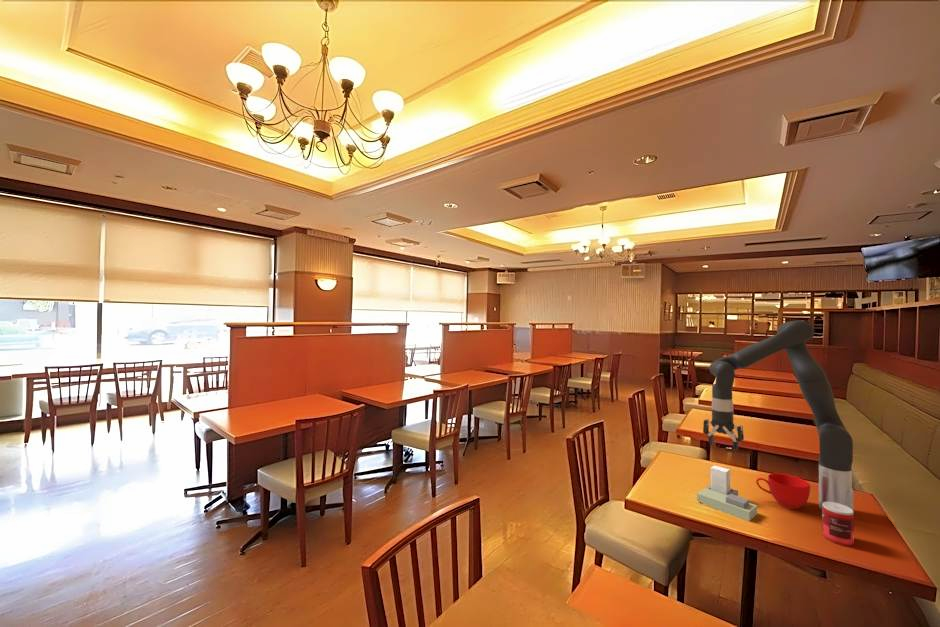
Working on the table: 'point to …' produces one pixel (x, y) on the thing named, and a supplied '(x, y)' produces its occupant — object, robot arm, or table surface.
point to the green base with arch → (728, 503)
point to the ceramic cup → (787, 489)
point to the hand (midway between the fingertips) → (723, 447)
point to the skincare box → (720, 480)
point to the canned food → (838, 523)
